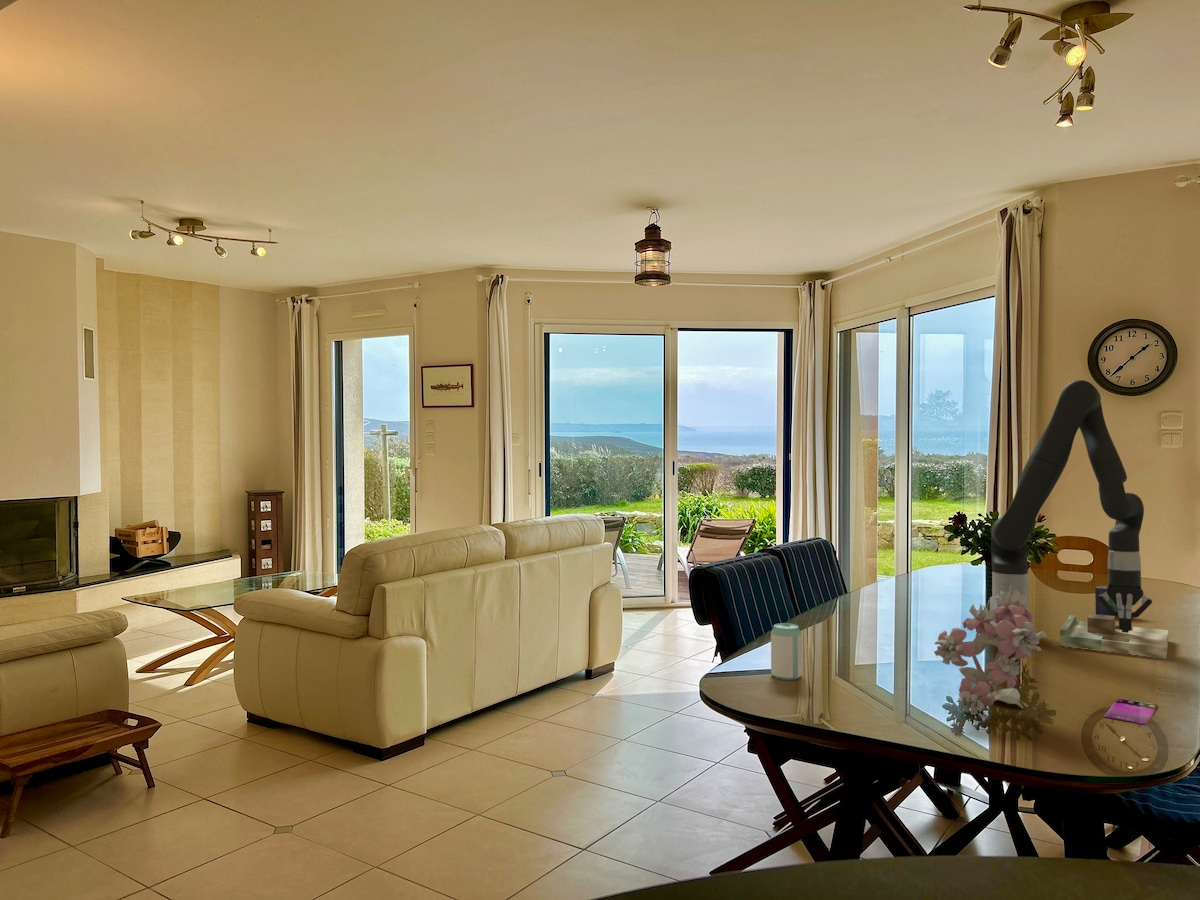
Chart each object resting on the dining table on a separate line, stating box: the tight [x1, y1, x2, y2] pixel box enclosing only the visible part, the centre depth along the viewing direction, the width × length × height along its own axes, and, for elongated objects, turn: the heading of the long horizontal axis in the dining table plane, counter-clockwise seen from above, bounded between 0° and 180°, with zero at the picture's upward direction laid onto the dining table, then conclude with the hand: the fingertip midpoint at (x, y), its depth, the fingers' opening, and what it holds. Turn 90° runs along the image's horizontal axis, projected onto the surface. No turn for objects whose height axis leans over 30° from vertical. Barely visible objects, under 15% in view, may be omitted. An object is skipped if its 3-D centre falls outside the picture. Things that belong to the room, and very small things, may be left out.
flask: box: [1094, 585, 1127, 618], centre depth 262 cm, size 9×3×11 cm, turn 88°
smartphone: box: [1103, 697, 1159, 726], centre depth 169 cm, size 7×15×1 cm, turn 139°
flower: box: [933, 585, 1048, 716], centre depth 174 cm, size 20×22×25 cm
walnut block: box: [1087, 613, 1116, 635], centre depth 227 cm, size 6×6×4 cm
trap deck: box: [1059, 614, 1169, 660], centre depth 226 cm, size 24×23×4 cm
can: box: [770, 622, 803, 681], centre depth 196 cm, size 7×7×12 cm
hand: (1125, 631), depth 224 cm, fingers closed
